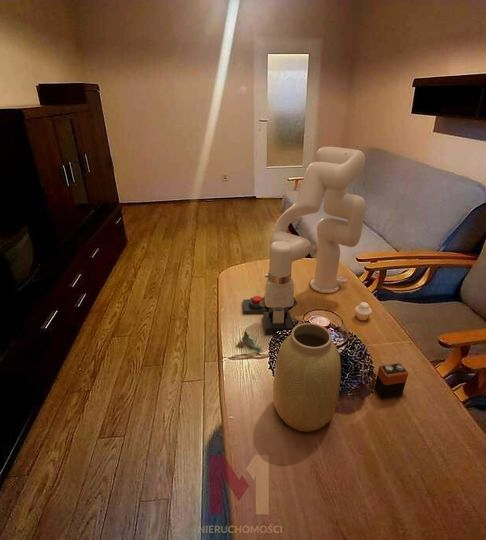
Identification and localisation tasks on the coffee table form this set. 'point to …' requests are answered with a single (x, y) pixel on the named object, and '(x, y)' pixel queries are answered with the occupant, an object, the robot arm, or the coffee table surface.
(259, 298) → the power button
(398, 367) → the battery
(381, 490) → the coffee table surface
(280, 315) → the charger
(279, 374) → the vase
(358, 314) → the cream rounded piece
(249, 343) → the dragon figurine
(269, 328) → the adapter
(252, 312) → the switch block
